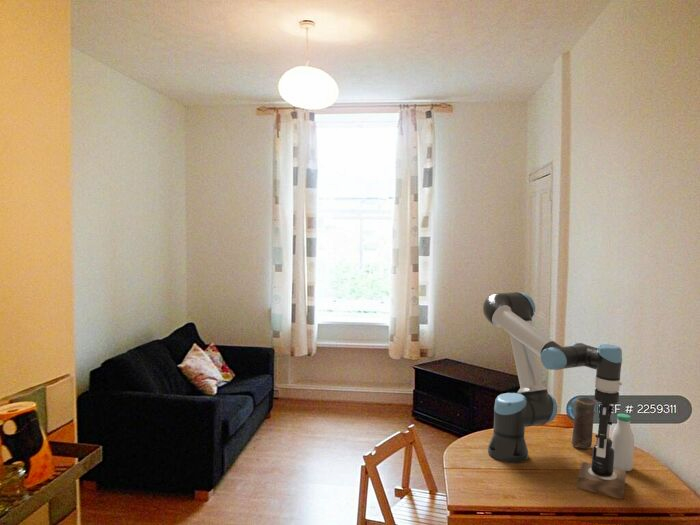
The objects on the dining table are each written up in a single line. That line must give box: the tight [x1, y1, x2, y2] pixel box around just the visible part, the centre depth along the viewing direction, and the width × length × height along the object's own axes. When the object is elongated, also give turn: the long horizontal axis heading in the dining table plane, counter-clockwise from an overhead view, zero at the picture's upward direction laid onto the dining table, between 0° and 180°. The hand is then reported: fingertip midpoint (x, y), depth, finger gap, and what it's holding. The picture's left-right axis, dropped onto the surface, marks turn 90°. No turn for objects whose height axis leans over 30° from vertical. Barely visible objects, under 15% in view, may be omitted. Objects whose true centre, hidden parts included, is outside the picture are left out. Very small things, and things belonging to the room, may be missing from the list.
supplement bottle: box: [591, 438, 615, 477], centre depth 182 cm, size 7×7×12 cm
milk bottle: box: [610, 413, 635, 472], centre depth 197 cm, size 8×8×20 cm
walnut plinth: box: [577, 461, 627, 500], centre depth 183 cm, size 14×14×4 cm
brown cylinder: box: [571, 396, 596, 450], centre depth 215 cm, size 8×7×20 cm
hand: (602, 449), depth 183 cm, fingers open, 13 cm apart
